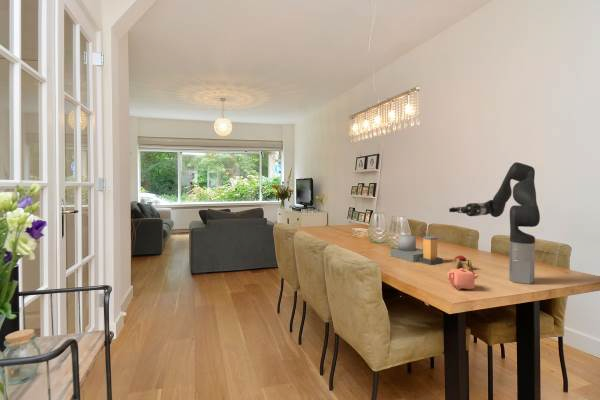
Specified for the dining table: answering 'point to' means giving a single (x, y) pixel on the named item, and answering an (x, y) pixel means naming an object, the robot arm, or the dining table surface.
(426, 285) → the dining table surface
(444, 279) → the dining table surface
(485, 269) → the dining table surface
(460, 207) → the robot arm
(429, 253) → the orange tall block
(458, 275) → the pink cube teapot
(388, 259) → the dining table surface
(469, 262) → the red flower
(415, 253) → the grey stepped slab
